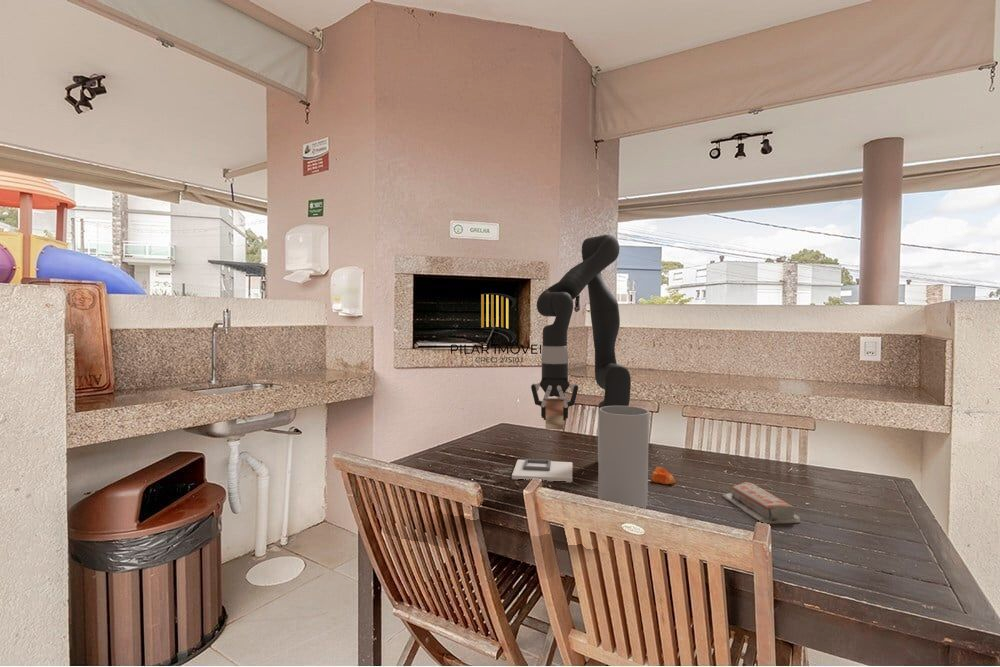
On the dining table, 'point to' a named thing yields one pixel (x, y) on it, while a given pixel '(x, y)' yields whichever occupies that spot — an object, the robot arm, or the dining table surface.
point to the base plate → (543, 470)
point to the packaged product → (761, 504)
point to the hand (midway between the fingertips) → (554, 419)
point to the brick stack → (554, 413)
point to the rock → (662, 476)
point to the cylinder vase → (623, 455)
